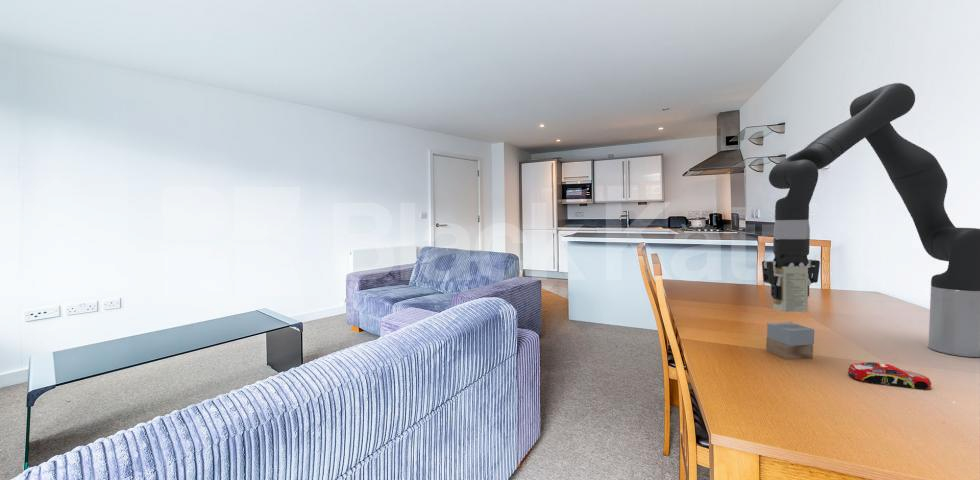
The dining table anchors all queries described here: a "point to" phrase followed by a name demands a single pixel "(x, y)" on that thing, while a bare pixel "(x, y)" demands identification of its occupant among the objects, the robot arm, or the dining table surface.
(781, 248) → the robot arm
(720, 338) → the dining table surface
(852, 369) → the race car
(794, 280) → the skincare box
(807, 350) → the bottom block
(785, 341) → the top block
